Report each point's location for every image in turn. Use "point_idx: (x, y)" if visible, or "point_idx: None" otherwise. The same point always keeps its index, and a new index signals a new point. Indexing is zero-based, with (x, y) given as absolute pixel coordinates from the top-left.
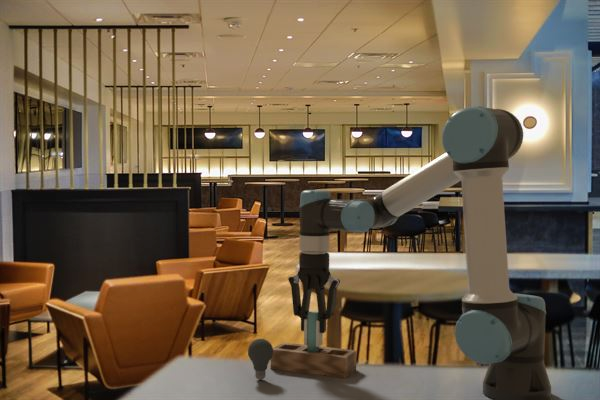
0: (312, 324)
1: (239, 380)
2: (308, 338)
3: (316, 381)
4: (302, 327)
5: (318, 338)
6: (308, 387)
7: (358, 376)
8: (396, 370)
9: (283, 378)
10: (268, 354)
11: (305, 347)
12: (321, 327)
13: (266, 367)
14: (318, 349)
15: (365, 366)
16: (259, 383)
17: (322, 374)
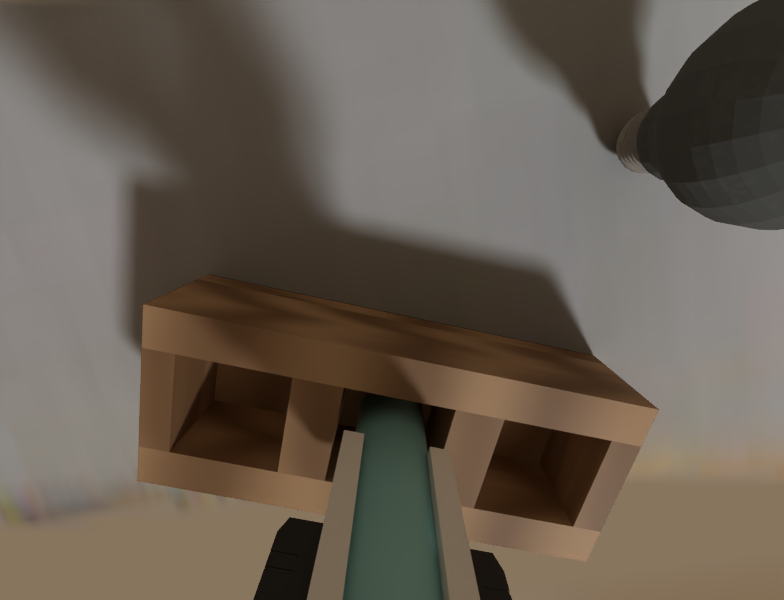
0: (384, 589)
1: None
2: (421, 483)
3: (334, 188)
4: (491, 582)
5: (336, 471)
6: (353, 59)
7: None
8: (28, 441)
9: (512, 206)
10: (714, 37)
11: None
12: (294, 569)
13: (646, 120)
14: None
15: None
16: (633, 78)
17: (326, 300)
